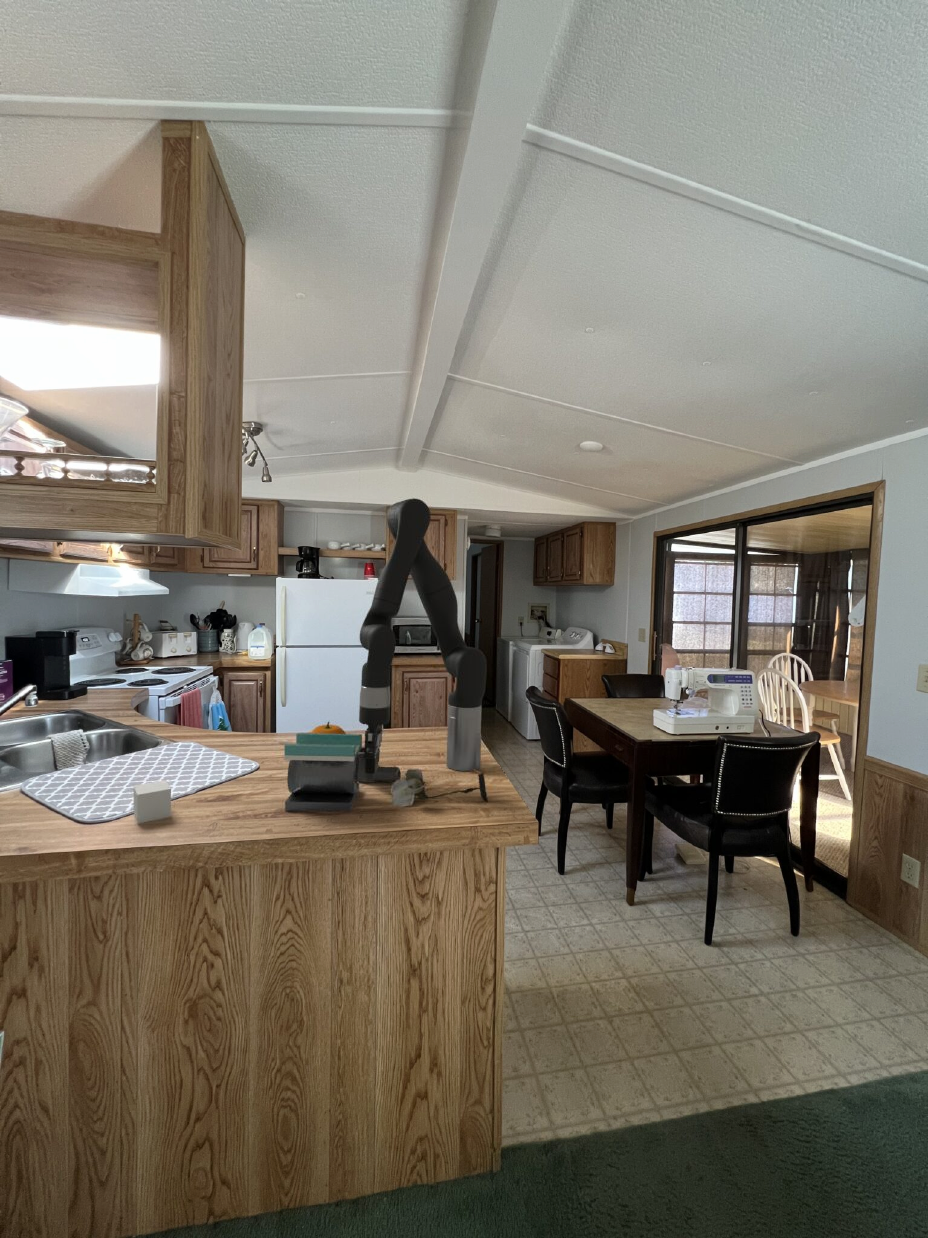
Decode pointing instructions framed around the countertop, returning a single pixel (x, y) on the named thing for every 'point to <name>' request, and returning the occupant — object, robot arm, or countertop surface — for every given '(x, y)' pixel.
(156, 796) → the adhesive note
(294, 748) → the motor
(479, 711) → the robot arm
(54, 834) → the countertop surface
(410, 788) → the artificial flower
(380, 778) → the pipe
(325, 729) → the fruit
